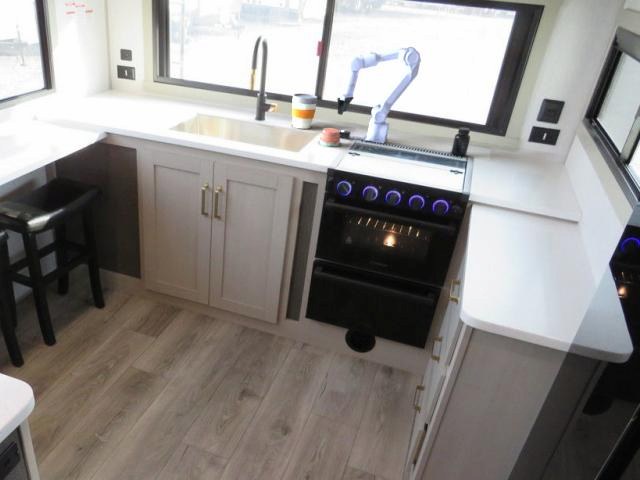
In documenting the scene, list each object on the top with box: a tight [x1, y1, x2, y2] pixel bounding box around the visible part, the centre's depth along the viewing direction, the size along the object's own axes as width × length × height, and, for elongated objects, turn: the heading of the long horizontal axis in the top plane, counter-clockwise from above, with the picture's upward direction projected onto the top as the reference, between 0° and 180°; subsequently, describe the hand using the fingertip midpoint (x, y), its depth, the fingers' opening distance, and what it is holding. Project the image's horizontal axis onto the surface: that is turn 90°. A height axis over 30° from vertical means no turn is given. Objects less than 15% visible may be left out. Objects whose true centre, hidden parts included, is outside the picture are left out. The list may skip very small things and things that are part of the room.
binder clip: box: [339, 129, 352, 140], centre depth 282 cm, size 5×3×3 cm, turn 68°
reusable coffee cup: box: [291, 93, 318, 130], centre depth 291 cm, size 12×13×15 cm
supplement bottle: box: [450, 127, 471, 157], centre depth 267 cm, size 7×7×12 cm
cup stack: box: [319, 127, 341, 148], centre depth 272 cm, size 9×9×6 cm
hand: (341, 112), depth 277 cm, fingers open, 7 cm apart
